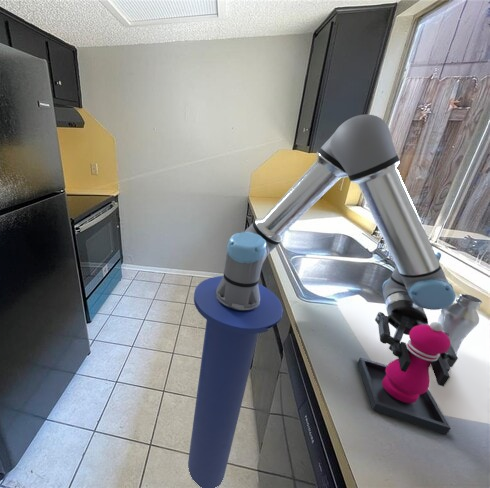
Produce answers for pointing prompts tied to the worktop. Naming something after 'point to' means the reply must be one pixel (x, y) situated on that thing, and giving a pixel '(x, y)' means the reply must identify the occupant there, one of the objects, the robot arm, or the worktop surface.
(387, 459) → the worktop surface
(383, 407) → the tray
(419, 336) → the pepper mill
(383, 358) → the worktop surface
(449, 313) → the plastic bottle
